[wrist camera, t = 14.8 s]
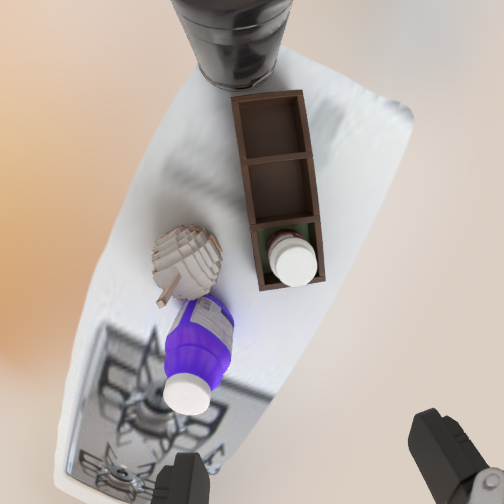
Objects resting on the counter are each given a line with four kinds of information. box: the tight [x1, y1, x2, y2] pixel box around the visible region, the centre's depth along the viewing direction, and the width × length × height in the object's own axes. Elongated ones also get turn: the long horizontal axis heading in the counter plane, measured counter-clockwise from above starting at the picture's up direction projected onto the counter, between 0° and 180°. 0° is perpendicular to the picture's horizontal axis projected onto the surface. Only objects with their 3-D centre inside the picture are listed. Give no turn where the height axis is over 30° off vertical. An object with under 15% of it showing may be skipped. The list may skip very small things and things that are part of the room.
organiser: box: [231, 90, 326, 291], centre depth 34 cm, size 21×8×5 cm, turn 8°
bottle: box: [163, 294, 234, 415], centre depth 32 cm, size 7×6×17 cm
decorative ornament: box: [152, 224, 222, 308], centre depth 31 cm, size 8×8×15 cm
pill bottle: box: [266, 228, 317, 287], centre depth 33 cm, size 5×5×8 cm
